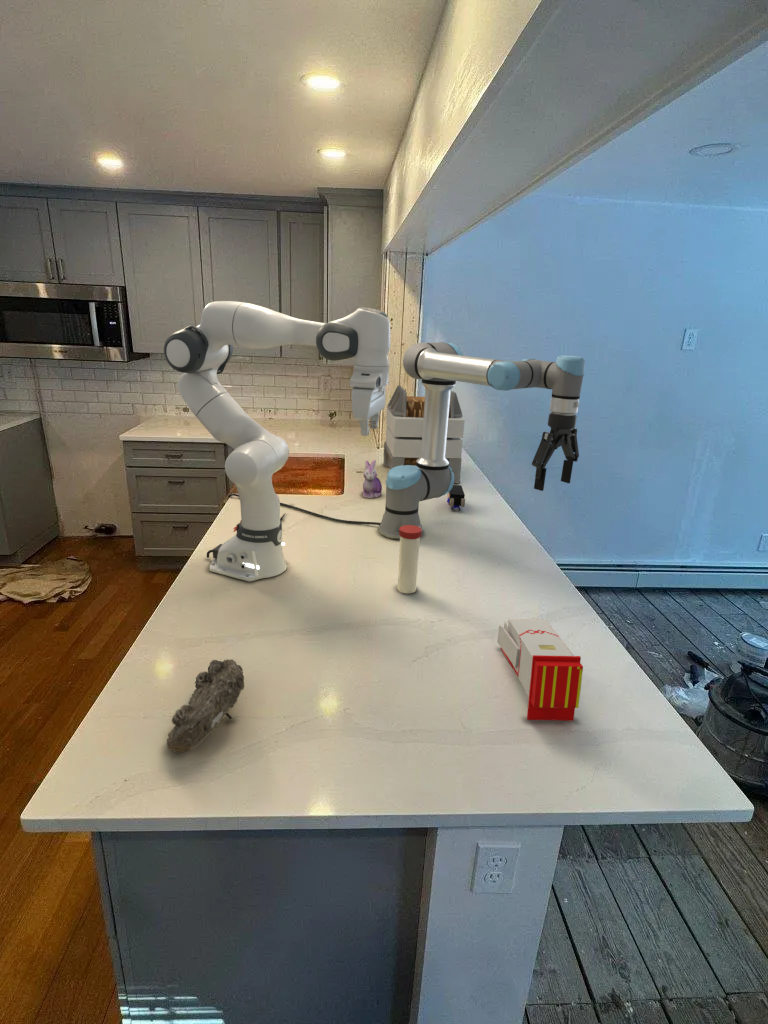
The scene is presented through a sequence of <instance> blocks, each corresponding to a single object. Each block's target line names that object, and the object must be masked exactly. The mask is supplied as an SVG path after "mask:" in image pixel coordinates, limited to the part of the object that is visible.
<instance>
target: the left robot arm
mask: <svg viewBox="0 0 768 1024" xmlns="http://www.w3.org/2000/svg"><path fill="white" fill-rule="evenodd" d="M200 318H201V319H200V323H199V324H198V325H196V326H195V325H194V324H193V325H192V324H191V325H188V326H185V327H184V328H182V329H180V330H178V331H175V332H173V333H172V334H171V335H169V337H167V338H166V340H165V341H164V345H163V354H164V356H163V357H164V359H165V361H166V363H167V364H168V365H169V366H170V368H172V369H173V370H174V371H177V372H179V373H182V374H181V375H180V377H179V378H178V381H177V391H178V393H179V394H180V396H181V398H182V399H183V402H184V403H185V405H186V406H187V407H188V408H189V410H190V411H191V413H192V414H193V415H194V416H195V418H196V419H197V420H198V421H199V423H200V424H202V426H203V427H204V428H205V429H206V430H207V431H208V433H209V434H210V435H211V436H212V438H213V439H215V440H216V441H218V442H220V443H224V444H225V445H227V446H229V447H230V448H232V449H233V450H232V451H231V453H230V454H229V455H228V456H227V458H226V459H225V462H224V471H225V475H226V477H227V478H228V479H229V481H230V482H232V483H233V484H234V485H235V488H236V490H237V494H238V495H239V497H238V498H239V504H240V505H239V506H240V518H241V520H240V522H239V523H237V524H236V526H235V527H233V528H232V530H233V533H235V532H236V534H234V535H233V536H231V537H230V538H229V539H228V540H226V541H225V542H224V543H220V544H218V545H217V546H216V547H213V548H212V549H209V550H207V552H206V558H208V559H209V558H210V554H211V553H212V558H213V560H211V562H210V563H209V567H208V568H209V572H212V573H216V574H220V575H223V576H227V577H229V578H230V577H231V578H233V579H238V580H242V581H246V582H254V581H257V580H261V579H268V578H273V577H276V576H279V575H281V574H283V573H284V572H285V571H286V570H287V568H288V565H287V563H286V560H285V556H284V551H283V546H285V545H286V543H285V542H283V525H282V524H283V523H282V521H281V522H280V518H281V505H280V503H281V501H280V499H281V498H280V496H279V495H278V493H276V492H275V489H274V485H273V475H274V474H275V473H277V472H278V471H280V470H282V468H283V467H284V466H285V465H286V463H287V461H288V460H289V458H290V457H289V456H290V448H289V445H288V443H287V441H286V440H285V439H283V437H282V436H279V435H276V434H273V433H271V432H270V431H269V430H267V429H266V428H265V427H263V426H262V425H261V424H260V423H258V422H257V421H256V420H255V419H253V418H252V417H251V416H250V415H249V414H248V413H247V412H246V411H245V410H244V409H243V408H242V407H241V406H240V404H239V403H238V402H237V401H236V400H235V399H234V397H232V395H231V394H230V393H229V392H228V390H227V389H226V388H225V387H224V386H223V385H222V383H221V382H220V381H219V379H218V375H220V374H222V373H223V372H224V370H225V368H226V366H227V364H228V363H229V361H230V360H231V358H232V357H233V353H234V347H239V348H245V349H254V350H255V349H257V350H259V349H260V350H261V349H270V348H271V349H272V348H276V347H283V346H288V345H289V346H291V345H302V346H303V345H304V346H311V347H316V349H317V351H318V353H319V355H321V356H322V358H324V359H325V360H327V361H328V360H329V361H331V362H343V361H348V360H352V361H353V371H352V375H351V376H350V379H349V387H350V388H352V389H351V411H352V412H351V413H352V418H353V419H354V420H357V421H358V423H359V428H360V436H362V437H368V436H369V434H370V430H371V429H373V430H376V429H378V427H379V419H380V414H381V411H383V410H384V409H385V408H386V386H388V385H389V383H390V382H389V381H390V380H389V379H390V362H389V352H390V350H391V324H390V318H389V316H388V314H387V313H386V312H384V311H383V310H380V309H376V308H372V307H367V306H361V307H358V308H357V309H356V310H355V311H353V312H352V313H350V314H348V315H346V316H344V317H342V318H341V317H340V318H338V319H335V320H331V321H328V322H321V321H314V320H308V319H302V318H297V317H293V316H290V315H288V314H286V313H285V314H284V313H283V312H279V311H276V310H273V309H271V308H268V307H264V306H262V305H258V304H254V303H249V302H244V301H235V300H234V301H233V300H218V301H211V302H209V303H207V304H206V305H205V306H204V307H203V310H202V312H201V317H200ZM369 421H370V422H369Z"/></svg>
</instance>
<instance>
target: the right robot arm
mask: <svg viewBox="0 0 768 1024" xmlns="http://www.w3.org/2000/svg"><path fill="white" fill-rule="evenodd" d="M585 365H586V360H585V358H584V357H582V356H578V355H566V354H565V355H564V354H563V355H558V356H557V357H556V360H555V361H549V360H541V359H536V358H524V359H521V360H506V359H505V360H504V359H503V360H502V359H496V358H487V357H479V356H471V355H464V354H463V352H462V350H461V349H460V347H459V346H457V345H456V344H455V343H451V342H445V341H443V342H442V341H441V342H440V341H439V342H438V341H437V342H417V343H414V344H412V345H411V346H409V347H408V348H407V350H406V351H405V353H404V355H403V358H402V366H403V369H404V372H405V373H406V374H407V375H408V376H409V377H411V378H412V379H415V380H421V385H422V386H423V387H424V389H425V392H424V397H425V404H424V419H423V434H422V449H421V457H420V458H418V459H417V461H416V466H413V465H401V466H396V467H394V468H392V469H390V468H389V470H388V472H387V474H386V479H385V504H384V505H385V507H384V508H385V509H384V513H383V515H382V519H381V522H376V521H358V520H346V519H340V518H335V517H331V516H327V515H323V514H320V513H316V512H313V511H310V510H306V509H304V508H301V507H297V506H294V505H292V504H287V503H283V502H280V506H283V507H285V508H286V507H287V508H290V509H293V510H297V511H299V512H303V513H306V514H308V515H309V514H310V515H313V516H314V517H318V518H323V519H326V520H329V521H333V522H338V523H345V524H354V525H355V524H357V525H372V526H378V533H379V534H380V535H381V536H382V537H385V538H387V539H389V540H395V541H400V535H399V529H400V527H401V526H404V525H414V526H418V527H420V528H421V529H422V530H423V525H422V524H421V518H420V515H419V507H420V506H419V505H420V502H423V501H427V500H431V499H437V498H440V497H443V496H446V495H448V493H449V491H450V490H451V489H452V487H453V485H455V483H454V473H452V469H451V467H450V466H449V462H448V461H447V459H446V458H445V453H446V441H447V428H448V416H449V404H450V392H451V391H452V389H453V388H454V387H455V386H456V384H457V382H461V383H465V384H473V385H479V386H487V387H491V388H492V389H494V390H496V391H503V392H504V391H511V390H520V389H532V388H533V389H534V388H539V389H546V390H551V398H550V404H549V413H548V418H547V419H548V420H547V426H548V427H549V428H550V431H549V432H548V431H543V432H542V435H541V440H540V442H539V445H538V447H537V449H536V452H535V454H534V457H533V460H532V461H531V466H533V467H535V475H534V477H535V478H534V485H533V489H534V490H537V491H539V492H543V491H544V489H545V484H546V483H545V482H546V476H547V468H546V466H547V465H548V463H549V461H550V459H551V457H552V456H553V454H554V453H555V451H556V450H557V449H558V448H560V447H561V449H562V452H563V455H564V458H565V459H563V463H562V468H561V469H562V470H561V475H560V482H562V483H566V484H571V478H572V472H573V466H574V463H576V462H578V461H579V457H580V453H579V444H578V428H576V423H577V419H578V416H577V414H578V412H579V411H578V410H579V406H580V397H581V391H582V385H583V380H584V376H585ZM231 497H238V498H239V494H238V493H229V495H227V498H231Z"/></svg>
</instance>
